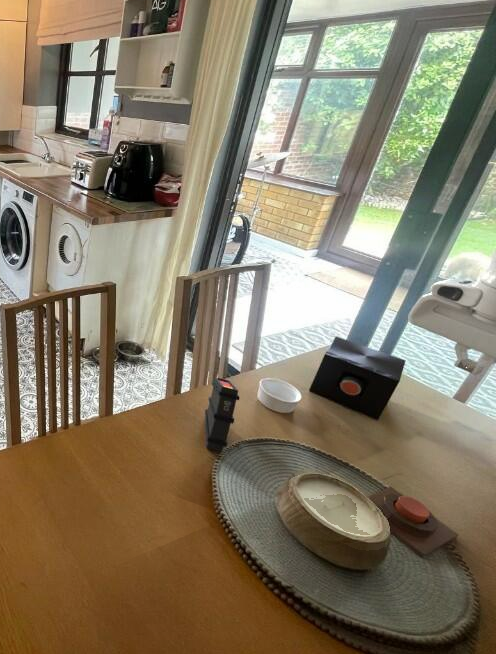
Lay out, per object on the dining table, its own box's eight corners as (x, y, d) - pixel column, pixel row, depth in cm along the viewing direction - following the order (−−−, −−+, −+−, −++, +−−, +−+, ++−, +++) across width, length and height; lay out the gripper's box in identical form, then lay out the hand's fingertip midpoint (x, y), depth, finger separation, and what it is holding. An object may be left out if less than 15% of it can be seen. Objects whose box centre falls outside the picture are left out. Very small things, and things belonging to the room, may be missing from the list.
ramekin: (287, 394, 107) (293, 381, 105) (302, 418, 99) (308, 404, 98) (250, 388, 109) (254, 375, 107) (261, 411, 101) (267, 398, 99)
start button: (430, 519, 72) (435, 512, 71) (416, 526, 71) (421, 520, 70) (403, 499, 76) (407, 493, 75) (389, 506, 74) (393, 499, 74)
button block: (451, 544, 72) (464, 528, 70) (416, 564, 69) (429, 548, 67) (384, 495, 81) (394, 479, 79) (351, 511, 78) (361, 495, 76)
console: (377, 420, 99) (399, 381, 94) (308, 390, 108) (325, 353, 103) (385, 397, 106) (405, 360, 101) (319, 371, 116) (335, 336, 111)
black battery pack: (206, 454, 87) (220, 386, 87) (199, 434, 100) (212, 375, 99) (226, 460, 86) (240, 391, 86) (217, 440, 98) (229, 379, 98)
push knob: (357, 398, 99) (363, 385, 97) (337, 390, 101) (343, 378, 100) (359, 393, 100) (365, 380, 99) (339, 385, 103) (345, 373, 101)
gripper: (621, 332, 60) (564, 404, 66) (441, 276, 78) (409, 337, 83) (600, 340, 58) (544, 413, 64) (421, 280, 76) (389, 342, 81)
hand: (466, 369), depth 74 cm, fingers closed
